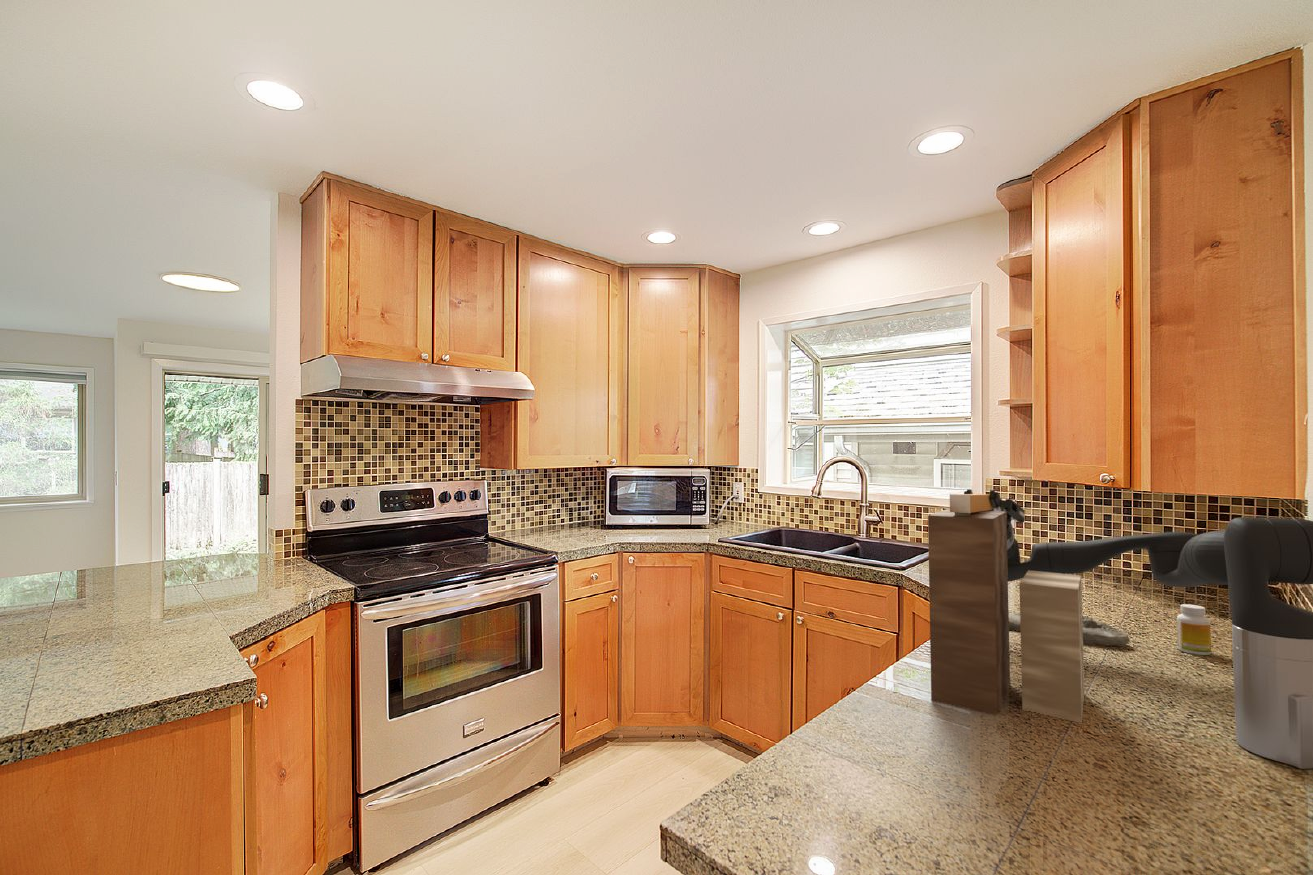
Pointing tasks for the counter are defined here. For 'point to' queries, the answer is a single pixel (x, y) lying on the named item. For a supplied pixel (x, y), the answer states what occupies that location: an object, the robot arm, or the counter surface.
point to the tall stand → (969, 609)
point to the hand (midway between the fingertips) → (980, 493)
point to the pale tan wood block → (970, 503)
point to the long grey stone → (1087, 631)
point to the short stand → (1052, 644)
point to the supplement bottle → (1193, 630)
